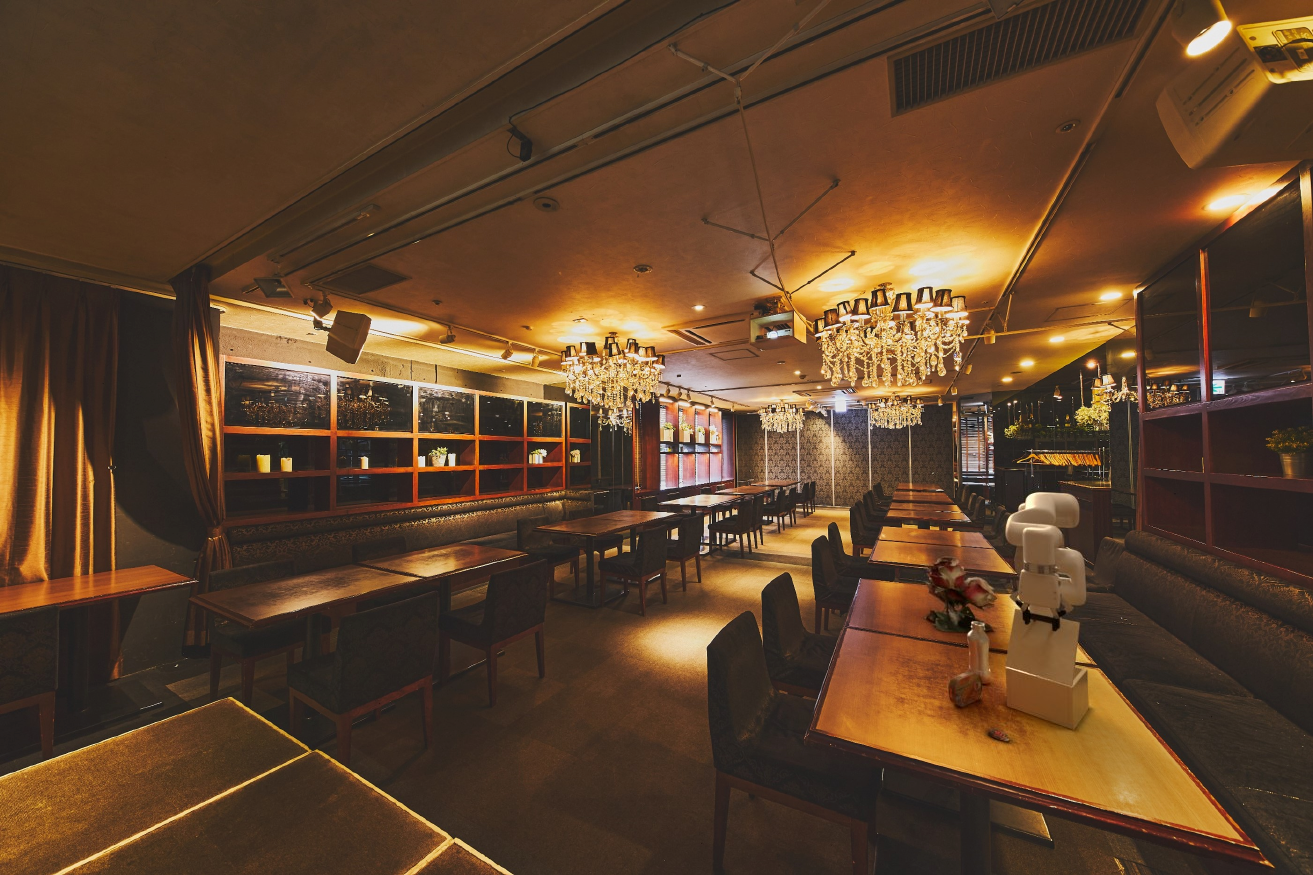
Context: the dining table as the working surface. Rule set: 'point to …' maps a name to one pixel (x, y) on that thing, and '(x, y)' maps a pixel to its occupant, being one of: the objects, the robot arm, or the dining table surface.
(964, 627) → the rose bouquet
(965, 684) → the tin
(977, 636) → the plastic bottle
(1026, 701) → the bin
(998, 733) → the matchbox
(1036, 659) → the bin lid
